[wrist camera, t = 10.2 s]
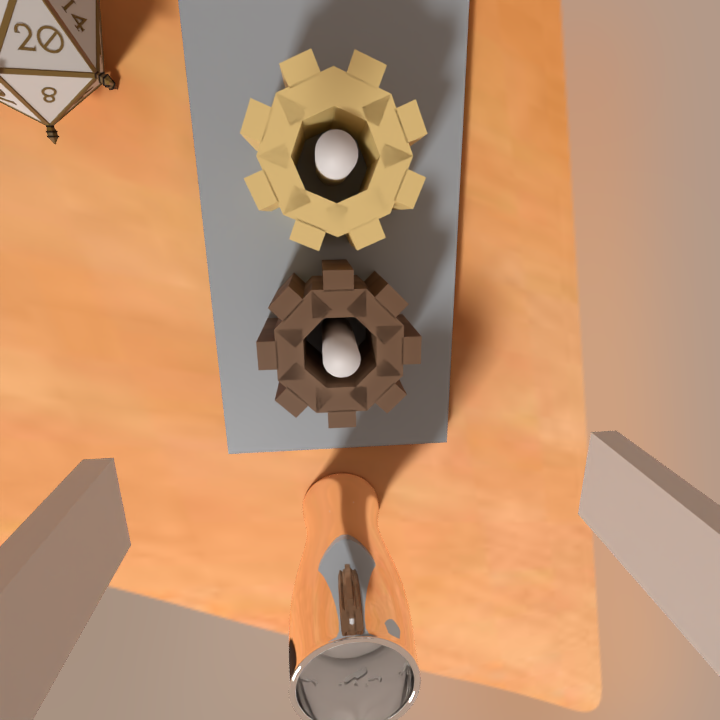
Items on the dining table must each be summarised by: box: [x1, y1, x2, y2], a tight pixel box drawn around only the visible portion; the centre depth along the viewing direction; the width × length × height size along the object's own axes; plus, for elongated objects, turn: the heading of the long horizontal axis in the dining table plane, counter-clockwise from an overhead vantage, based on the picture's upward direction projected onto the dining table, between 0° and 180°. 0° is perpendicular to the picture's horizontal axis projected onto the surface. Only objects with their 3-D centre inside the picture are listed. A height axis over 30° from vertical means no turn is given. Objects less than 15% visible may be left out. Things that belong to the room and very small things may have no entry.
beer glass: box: [289, 473, 421, 720], centre depth 30 cm, size 7×7×15 cm
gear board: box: [178, 0, 469, 454], centre depth 27 cm, size 28×16×8 cm, turn 1°
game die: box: [0, 0, 118, 144], centre depth 22 cm, size 9×8×10 cm
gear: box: [240, 49, 427, 251], centre depth 25 cm, size 9×9×6 cm
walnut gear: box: [256, 259, 422, 428], centre depth 28 cm, size 9×9×6 cm
